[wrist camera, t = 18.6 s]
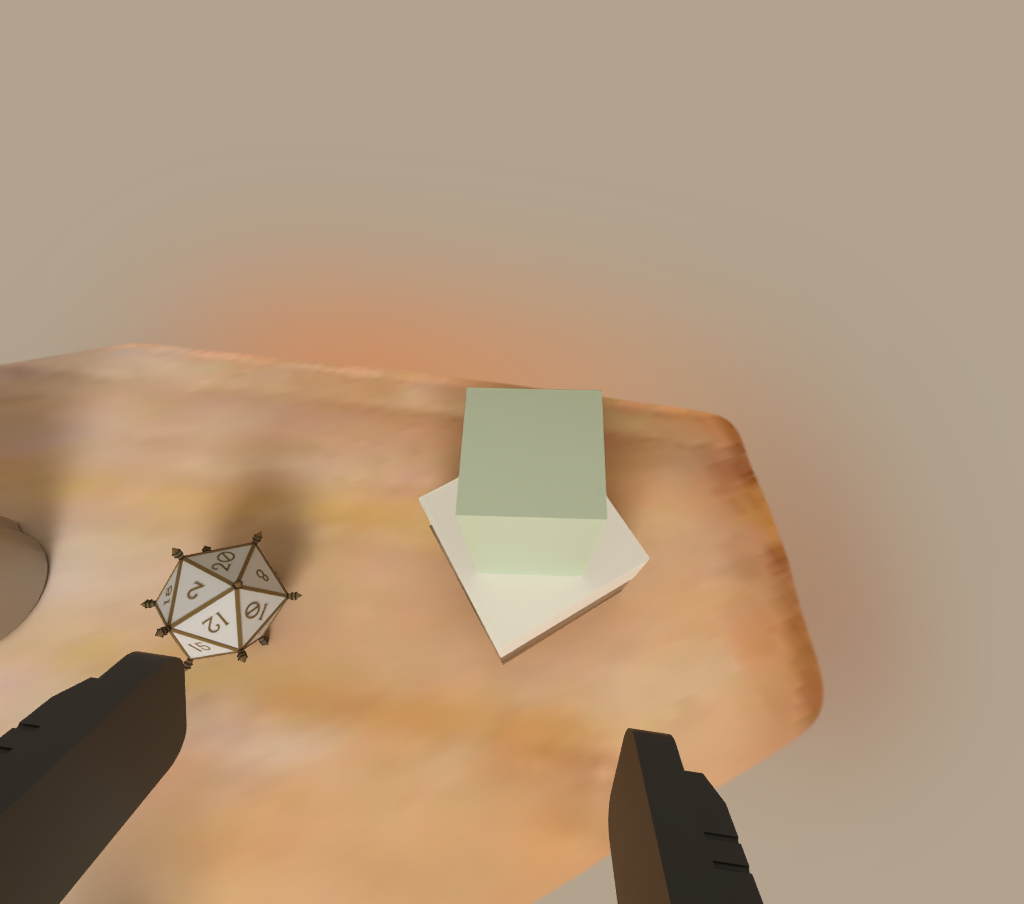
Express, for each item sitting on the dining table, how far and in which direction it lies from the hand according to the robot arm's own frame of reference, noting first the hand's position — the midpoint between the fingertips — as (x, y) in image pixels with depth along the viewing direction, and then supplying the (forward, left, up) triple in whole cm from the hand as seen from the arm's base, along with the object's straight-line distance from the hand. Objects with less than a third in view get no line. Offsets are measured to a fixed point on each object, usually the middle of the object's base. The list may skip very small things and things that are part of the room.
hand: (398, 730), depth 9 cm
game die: (-15, -12, -29) cm, 35 cm away
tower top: (-7, +7, -24) cm, 26 cm away
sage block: (-7, +7, -19) cm, 22 cm away
